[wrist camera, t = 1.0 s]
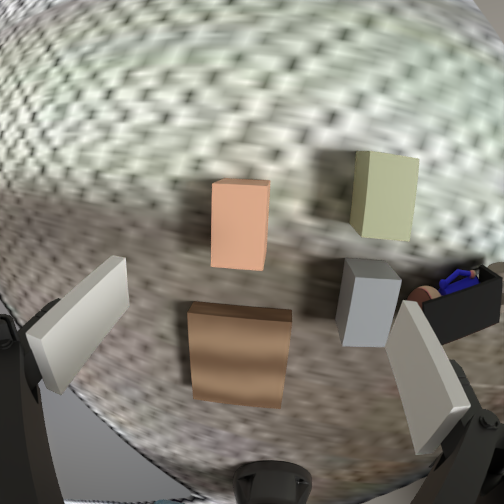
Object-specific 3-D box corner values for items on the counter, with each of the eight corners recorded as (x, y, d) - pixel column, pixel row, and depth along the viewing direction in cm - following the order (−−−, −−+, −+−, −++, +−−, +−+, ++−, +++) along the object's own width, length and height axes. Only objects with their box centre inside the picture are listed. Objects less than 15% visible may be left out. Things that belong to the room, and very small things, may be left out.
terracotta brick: (266, 251, 36) (262, 270, 30) (222, 248, 36) (211, 266, 31) (270, 180, 34) (267, 186, 28) (224, 178, 34) (212, 183, 28)
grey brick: (373, 320, 37) (385, 346, 32) (335, 319, 38) (342, 346, 32) (385, 260, 35) (401, 280, 29) (344, 257, 35) (355, 277, 30)
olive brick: (390, 227, 34) (409, 241, 28) (349, 223, 34) (361, 237, 28) (398, 157, 31) (419, 158, 26) (355, 151, 32) (370, 151, 26)
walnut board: (281, 394, 42) (280, 408, 39) (198, 385, 43) (193, 398, 40) (291, 309, 38) (292, 322, 35) (193, 301, 39) (187, 312, 36)
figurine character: (487, 247, 34) (396, 279, 35) (523, 265, 27) (427, 306, 28) (486, 291, 36) (400, 326, 37) (518, 313, 29) (426, 358, 30)
